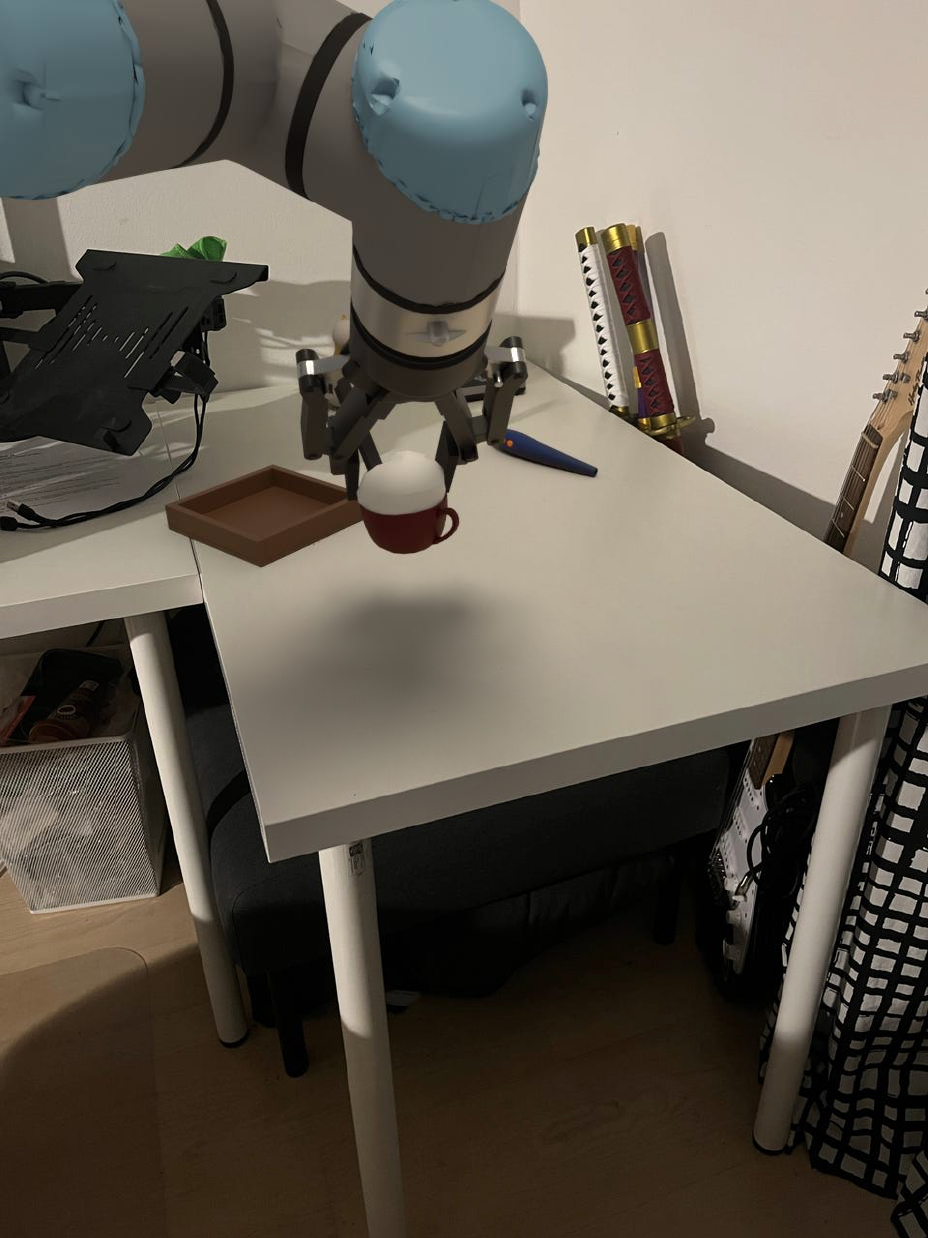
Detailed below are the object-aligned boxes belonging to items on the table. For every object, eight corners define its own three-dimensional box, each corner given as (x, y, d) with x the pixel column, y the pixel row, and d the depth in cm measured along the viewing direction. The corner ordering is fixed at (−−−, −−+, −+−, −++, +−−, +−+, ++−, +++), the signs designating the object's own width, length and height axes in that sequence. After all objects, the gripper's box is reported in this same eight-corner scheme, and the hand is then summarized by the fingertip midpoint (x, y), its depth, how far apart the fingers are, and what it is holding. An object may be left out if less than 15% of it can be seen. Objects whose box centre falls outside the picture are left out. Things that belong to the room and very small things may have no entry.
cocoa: (474, 554, 69) (472, 388, 63) (398, 578, 66) (389, 406, 60) (405, 511, 76) (398, 357, 70) (334, 530, 73) (320, 372, 67)
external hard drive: (432, 391, 132) (432, 376, 131) (506, 381, 136) (506, 366, 135) (452, 405, 126) (451, 390, 125) (528, 394, 130) (528, 379, 129)
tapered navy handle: (602, 483, 106) (607, 462, 105) (583, 486, 103) (588, 464, 102) (496, 440, 115) (500, 419, 114) (476, 441, 112) (480, 420, 111)
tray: (261, 567, 86) (257, 541, 85) (168, 528, 94) (164, 504, 93) (367, 517, 96) (365, 494, 94) (275, 486, 103) (272, 463, 102)
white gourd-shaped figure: (363, 394, 131) (357, 303, 125) (397, 412, 124) (392, 317, 118) (312, 403, 128) (303, 310, 122) (344, 423, 121) (337, 325, 115)
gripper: (241, 375, 48) (271, 538, 70) (612, 353, 51) (528, 516, 73) (229, 244, 50) (262, 443, 72) (588, 230, 53) (513, 425, 75)
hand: (396, 479), depth 72 cm, fingers closed on cocoa, 6 cm apart
